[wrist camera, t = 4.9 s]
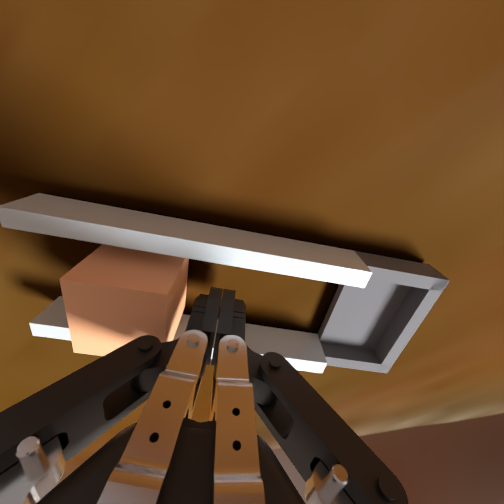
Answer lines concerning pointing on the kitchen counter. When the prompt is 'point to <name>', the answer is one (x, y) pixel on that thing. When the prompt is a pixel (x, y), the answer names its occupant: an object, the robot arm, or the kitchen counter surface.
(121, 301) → the block
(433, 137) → the kitchen counter surface
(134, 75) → the kitchen counter surface
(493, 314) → the kitchen counter surface
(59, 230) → the channel
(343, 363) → the tray
